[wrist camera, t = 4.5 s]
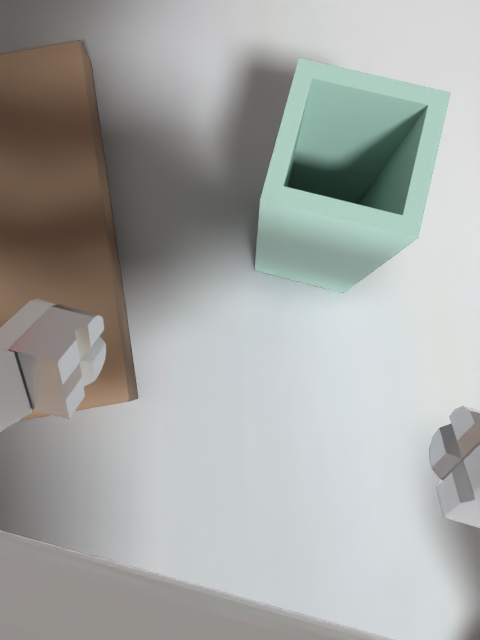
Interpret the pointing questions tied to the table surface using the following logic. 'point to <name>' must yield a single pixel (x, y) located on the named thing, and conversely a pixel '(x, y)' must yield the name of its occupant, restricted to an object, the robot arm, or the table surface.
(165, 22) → the table surface
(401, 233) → the sleeve
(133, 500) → the table surface
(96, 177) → the board
